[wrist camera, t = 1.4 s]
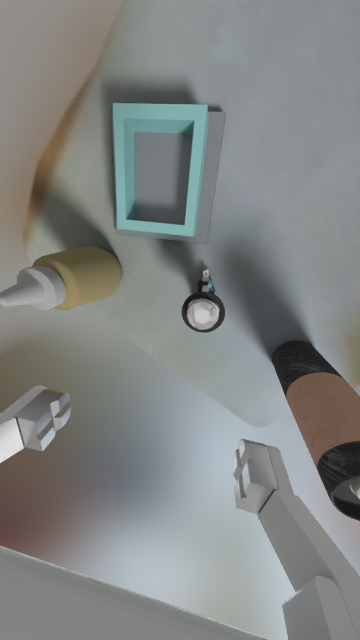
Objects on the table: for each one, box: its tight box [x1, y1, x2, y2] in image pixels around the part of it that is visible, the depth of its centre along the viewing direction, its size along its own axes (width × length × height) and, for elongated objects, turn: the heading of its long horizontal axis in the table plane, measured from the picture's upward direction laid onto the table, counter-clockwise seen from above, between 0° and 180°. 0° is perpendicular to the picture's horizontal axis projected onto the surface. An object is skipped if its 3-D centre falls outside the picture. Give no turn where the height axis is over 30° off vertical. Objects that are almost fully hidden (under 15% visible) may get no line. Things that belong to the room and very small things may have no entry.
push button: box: [182, 270, 225, 332], centre depth 27 cm, size 7×5×10 cm
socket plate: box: [111, 103, 226, 244], centre depth 24 cm, size 14×14×4 cm
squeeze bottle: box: [0, 246, 122, 310], centre depth 25 cm, size 8×8×18 cm
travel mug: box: [273, 341, 360, 521], centre depth 24 cm, size 8×8×20 cm
